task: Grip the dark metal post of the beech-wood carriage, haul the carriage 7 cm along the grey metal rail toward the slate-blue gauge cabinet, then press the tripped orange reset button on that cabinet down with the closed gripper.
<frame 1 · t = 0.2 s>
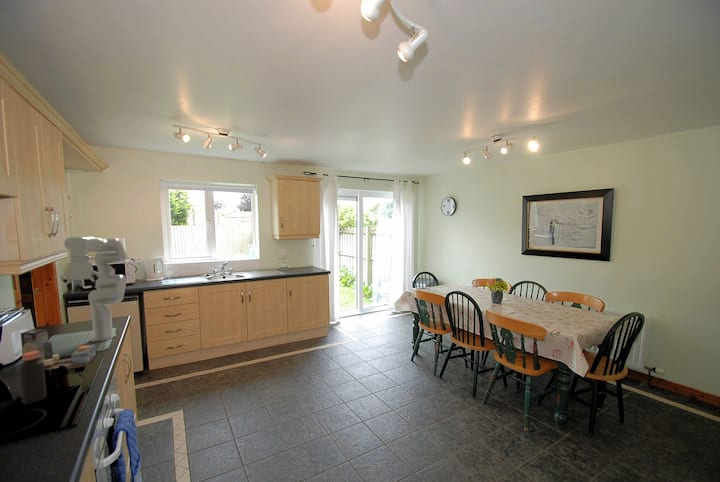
hand: (82, 289, 171), 36 cm above the worktop, tool pointing down, fingers open, 9 cm apart
reset button: (83, 349, 160), point 7 cm above the worktop, slide at 0.0 cm
rail track: (63, 365, 157), on the worktop
coffee box: (36, 360, 165), on the worktop
bottle: (35, 400, 126), on the worktop
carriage: (48, 352, 155), point 8 cm above the worktop, slide at 0.0 cm
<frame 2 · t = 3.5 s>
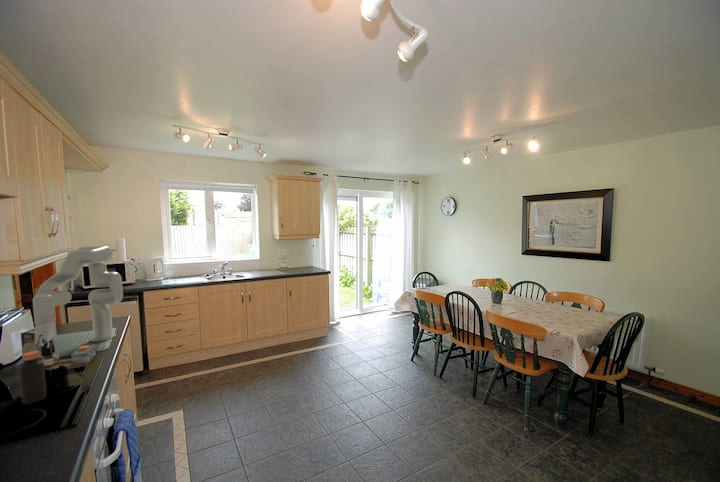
hand: (48, 354, 155), 7 cm above the worktop, tool pointing down, fingers closed on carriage, 3 cm apart
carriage: (48, 352, 155), point 8 cm above the worktop, slide at 0.0 cm, touching gripper
everything else where it was.
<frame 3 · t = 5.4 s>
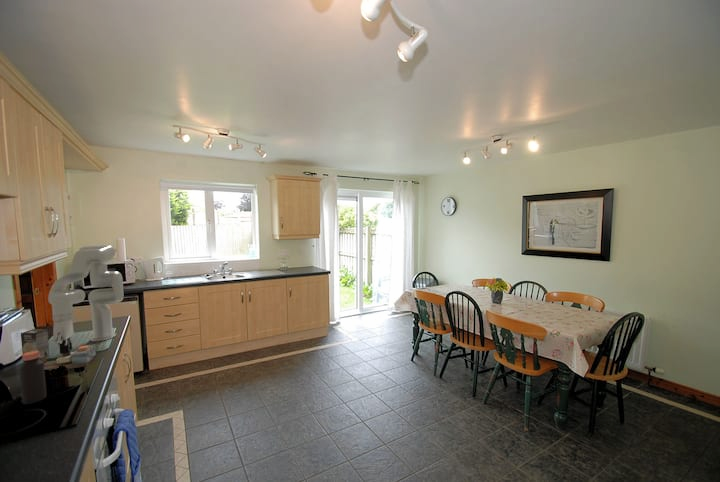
hand: (66, 351, 158), 7 cm above the worktop, tool pointing down, fingers closed on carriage, 3 cm apart
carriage: (66, 350, 157), point 8 cm above the worktop, slide at 6.9 cm, touching gripper
everything else where it was.
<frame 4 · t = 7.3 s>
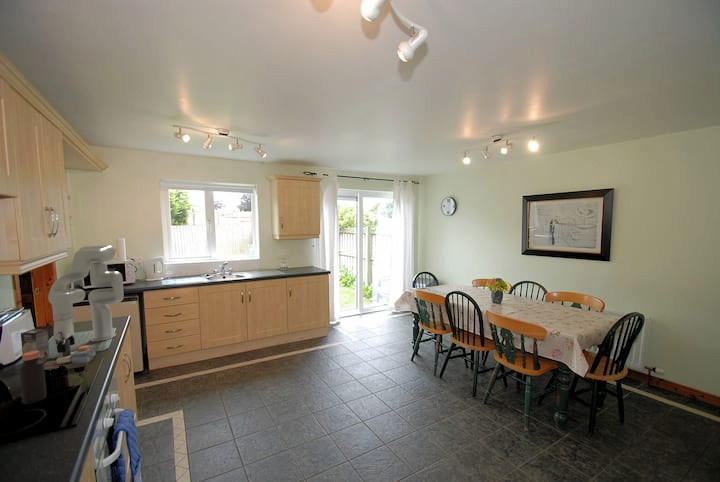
hand: (66, 348, 158), 9 cm above the worktop, tool pointing down, fingers open, 9 cm apart
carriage: (66, 349, 158), point 8 cm above the worktop, slide at 7.0 cm
everything else where it was.
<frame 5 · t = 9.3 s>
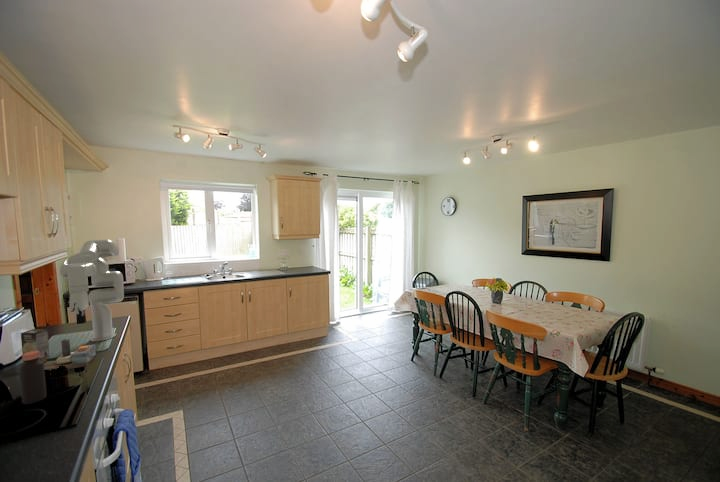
hand: (81, 323, 160), 21 cm above the worktop, tool pointing down, fingers closed
nothing on the worktop moved.
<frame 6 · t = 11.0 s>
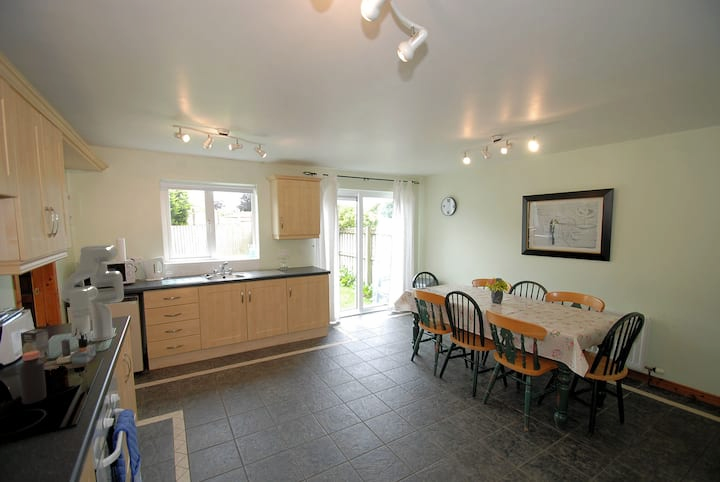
hand: (83, 347, 160), 8 cm above the worktop, tool pointing down, fingers closed
reset button: (83, 349, 160), point 7 cm above the worktop, slide at 0.1 cm, touching gripper
everything else where it was.
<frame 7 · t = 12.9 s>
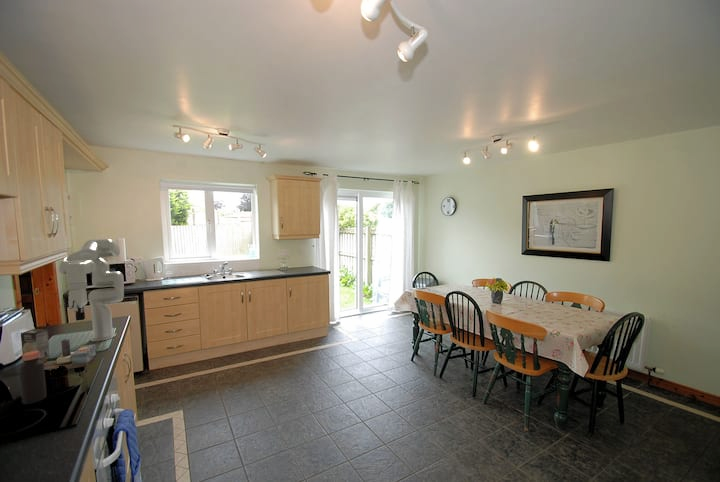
hand: (80, 319, 162), 22 cm above the worktop, tool pointing down, fingers closed
reset button: (83, 351, 160), point 6 cm above the worktop, slide at 0.9 cm
everything else where it was.
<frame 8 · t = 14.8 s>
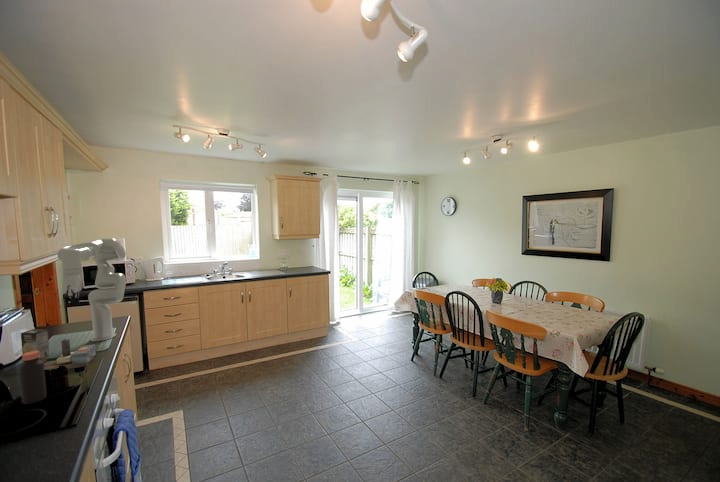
hand: (75, 304, 166), 29 cm above the worktop, tool pointing down, fingers closed
nothing on the worktop moved.
at the end: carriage slide at 7.0 cm; reset button slide at 0.9 cm; the gripper is holding nothing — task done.
